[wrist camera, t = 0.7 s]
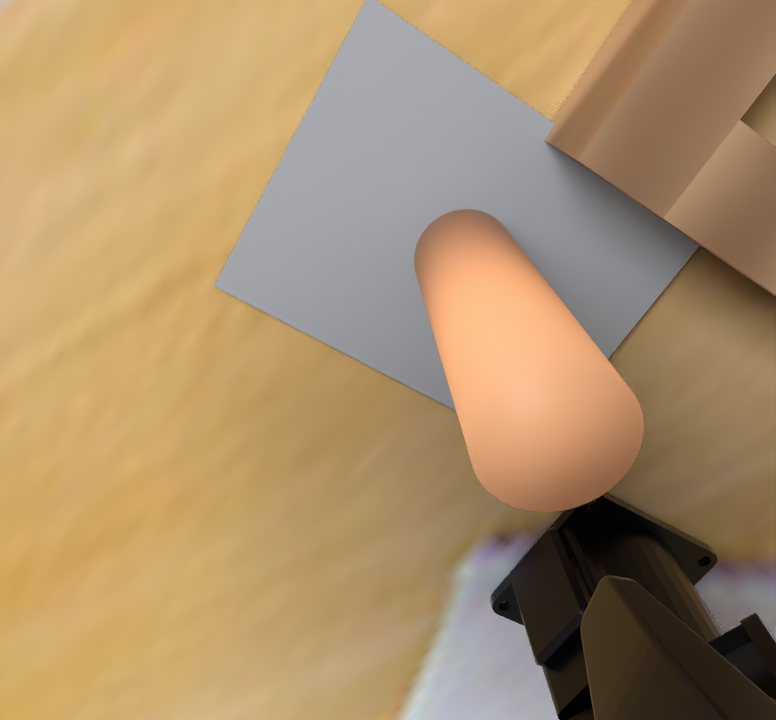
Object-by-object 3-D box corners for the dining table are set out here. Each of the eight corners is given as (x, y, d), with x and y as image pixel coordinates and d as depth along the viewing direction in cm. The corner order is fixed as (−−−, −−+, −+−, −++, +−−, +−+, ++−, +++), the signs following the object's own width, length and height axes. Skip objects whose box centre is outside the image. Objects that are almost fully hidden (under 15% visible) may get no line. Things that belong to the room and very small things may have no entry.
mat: (705, 228, 21) (711, 231, 21) (530, 444, 24) (532, 450, 24) (368, -4, 18) (368, -5, 18) (216, 281, 21) (214, 286, 21)
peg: (533, 241, 21) (679, 413, 12) (476, 321, 22) (571, 535, 13) (450, 189, 20) (540, 331, 11) (394, 275, 21) (436, 470, 12)
